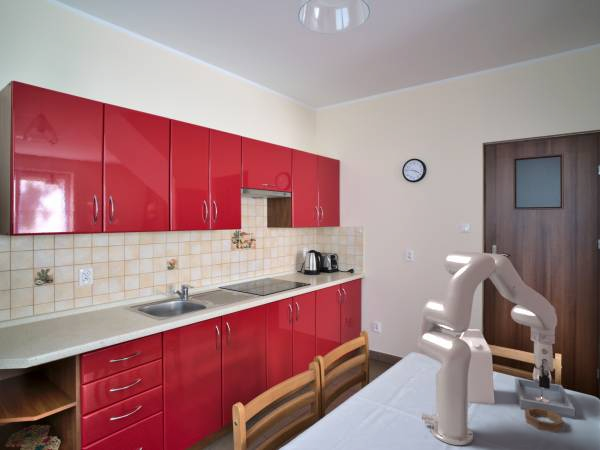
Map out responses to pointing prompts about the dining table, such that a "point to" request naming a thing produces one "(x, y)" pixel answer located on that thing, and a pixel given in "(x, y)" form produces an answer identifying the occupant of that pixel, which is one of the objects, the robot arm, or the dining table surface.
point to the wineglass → (536, 378)
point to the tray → (554, 394)
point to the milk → (479, 368)
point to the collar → (543, 425)
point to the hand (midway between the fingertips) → (542, 382)
